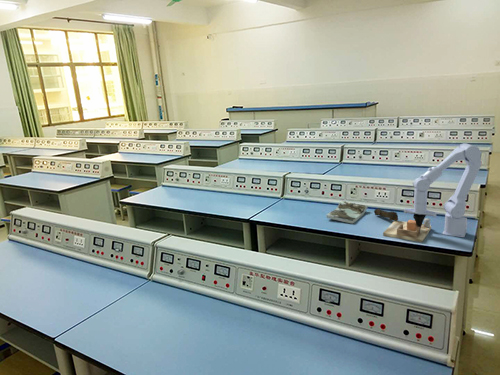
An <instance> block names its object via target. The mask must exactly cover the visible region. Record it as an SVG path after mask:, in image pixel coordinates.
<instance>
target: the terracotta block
mask: <svg viewBox="0 0 500 375" xmlns="http://www.w3.org/2000/svg"><path fill="white" fill-rule="evenodd" d="M406 222H407V230H413V231H415V230H416V229H417V224H416V221H415V219H408V220H407V221H406Z"/></svg>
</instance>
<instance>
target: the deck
mask: <svg viewBox="0 0 500 375" xmlns="http://www.w3.org/2000/svg"><path fill="white" fill-rule="evenodd" d="M431 230H432V225H431V224H430V227H429V228H426V227H424V223H422V225H421V229H420V227H418V228H417V229H416V230H415V231H413V230H407V221H402V220H398V221H394V220H393V221H392V223H391V224H390V225H388V227H387V228H386V229H385V230H384V231H383V234H382V236H384V237H388V238H395V239H399V240H405V241H406V240H408V241H413V242H419V243H423V241H424V240H425V239H426V237H427V236H428V235H429V232H430V231H431Z"/></svg>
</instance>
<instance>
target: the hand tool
mask: <svg viewBox="0 0 500 375" xmlns="http://www.w3.org/2000/svg"><path fill="white" fill-rule="evenodd" d="M373 212H374V215H375V216H380V217H383V218H387V219H389V220H390V221H393V222H394V221H399V216H398V213H397V212H396V211H387V210H384V209H380V208H376V209H374V211H373Z"/></svg>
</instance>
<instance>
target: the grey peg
mask: <svg viewBox="0 0 500 375" xmlns="http://www.w3.org/2000/svg"><path fill="white" fill-rule="evenodd" d="M423 224H424V227H426V228H429V227H430V225H431V219H430V218H427V217H425V218H424V220H423Z"/></svg>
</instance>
